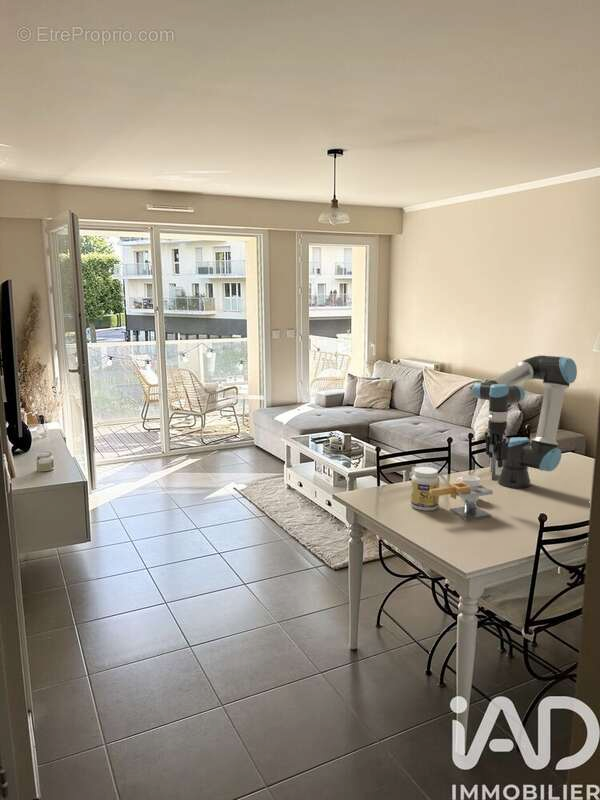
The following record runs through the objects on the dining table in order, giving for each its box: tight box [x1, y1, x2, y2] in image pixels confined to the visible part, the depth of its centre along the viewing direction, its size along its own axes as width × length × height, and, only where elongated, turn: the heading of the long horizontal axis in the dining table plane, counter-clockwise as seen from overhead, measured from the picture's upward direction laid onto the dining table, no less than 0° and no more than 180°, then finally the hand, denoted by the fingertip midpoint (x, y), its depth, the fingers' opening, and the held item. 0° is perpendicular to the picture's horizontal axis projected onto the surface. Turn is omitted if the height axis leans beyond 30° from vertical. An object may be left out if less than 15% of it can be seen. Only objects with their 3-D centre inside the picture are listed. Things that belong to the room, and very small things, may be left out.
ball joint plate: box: [445, 482, 494, 522], centre depth 253 cm, size 15×12×12 cm
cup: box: [455, 474, 481, 502], centre depth 273 cm, size 8×12×10 cm
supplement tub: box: [410, 466, 440, 512], centre depth 261 cm, size 12×12×17 cm
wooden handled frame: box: [429, 481, 471, 500], centre depth 248 cm, size 17×6×5 cm, turn 112°
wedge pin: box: [489, 444, 500, 482], centre depth 256 cm, size 6×3×16 cm, turn 112°
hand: (495, 472), depth 257 cm, fingers closed on wedge pin, 3 cm apart
